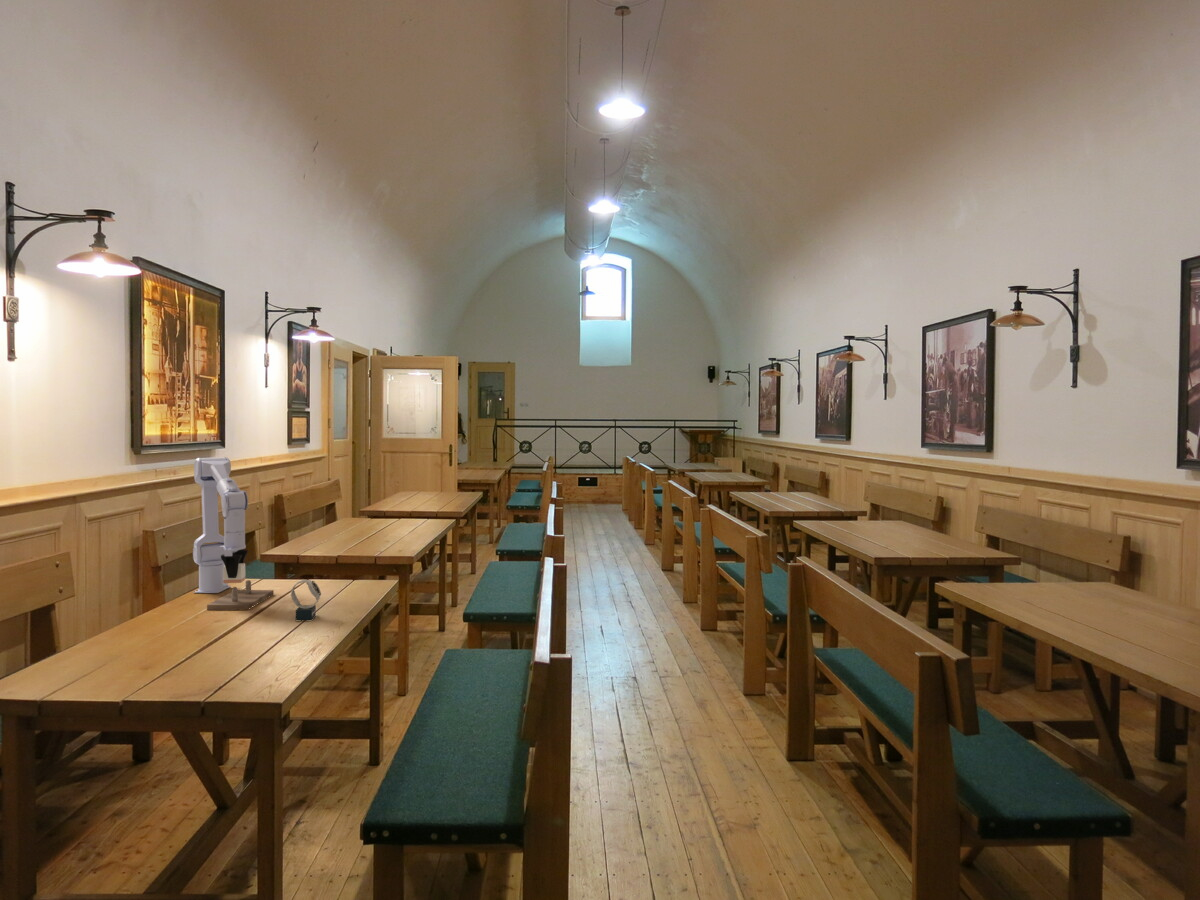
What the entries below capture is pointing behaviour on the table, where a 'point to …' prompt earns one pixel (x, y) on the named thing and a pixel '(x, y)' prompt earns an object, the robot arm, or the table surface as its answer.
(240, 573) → the sleeve
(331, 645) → the table surface
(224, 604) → the pin board
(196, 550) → the robot arm
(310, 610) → the watch
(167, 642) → the table surface
